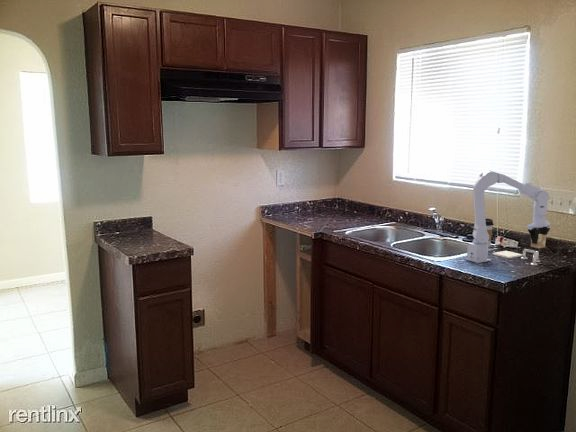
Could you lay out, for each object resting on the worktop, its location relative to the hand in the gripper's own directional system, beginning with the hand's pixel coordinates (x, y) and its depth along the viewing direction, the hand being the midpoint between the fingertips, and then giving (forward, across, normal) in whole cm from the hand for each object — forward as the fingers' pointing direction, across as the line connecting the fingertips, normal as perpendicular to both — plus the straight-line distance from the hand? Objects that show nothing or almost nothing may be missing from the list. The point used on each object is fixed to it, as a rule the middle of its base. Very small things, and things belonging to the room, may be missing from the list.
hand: (537, 242), depth 245 cm
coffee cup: (+10, +5, +36) cm, 38 cm away
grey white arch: (+9, -3, +2) cm, 10 cm away
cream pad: (+9, -1, +16) cm, 19 cm away
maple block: (+2, 0, 0) cm, 2 cm away
